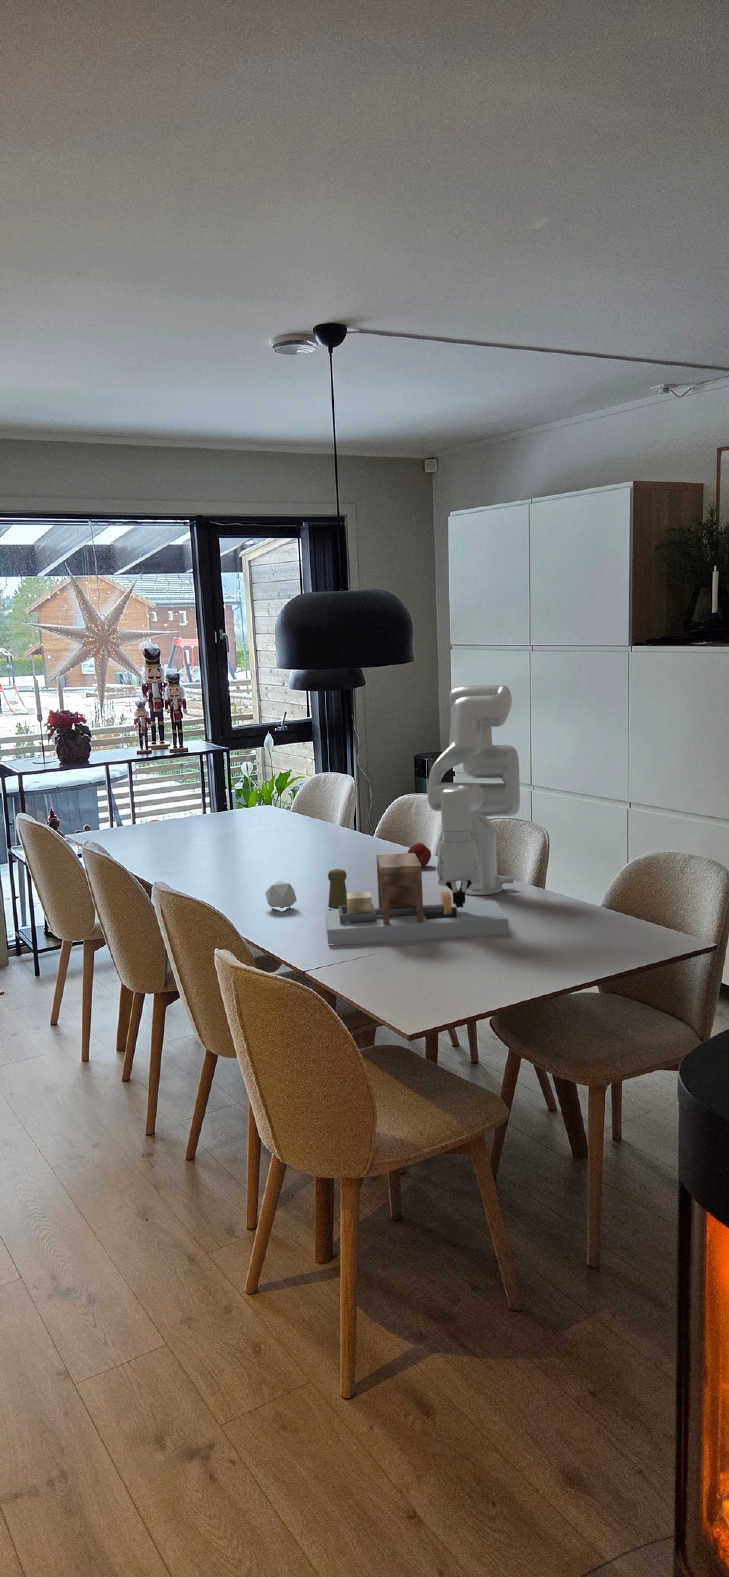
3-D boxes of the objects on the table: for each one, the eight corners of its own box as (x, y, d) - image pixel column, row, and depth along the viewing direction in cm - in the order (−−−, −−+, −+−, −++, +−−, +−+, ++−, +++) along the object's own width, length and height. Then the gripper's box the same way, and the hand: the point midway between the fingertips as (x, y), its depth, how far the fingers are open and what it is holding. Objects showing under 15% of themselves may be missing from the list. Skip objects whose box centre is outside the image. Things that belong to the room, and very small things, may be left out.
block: (370, 914, 268) (369, 891, 268) (372, 920, 263) (371, 897, 262) (347, 915, 268) (346, 892, 267) (348, 921, 262) (347, 898, 261)
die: (303, 911, 292) (299, 880, 296) (287, 903, 285) (283, 871, 289) (279, 920, 295) (274, 889, 299) (262, 912, 288) (258, 881, 292)
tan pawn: (325, 907, 293) (323, 868, 292) (345, 904, 295) (343, 866, 294) (332, 911, 288) (330, 873, 286) (352, 909, 290) (350, 870, 288)
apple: (430, 869, 333) (429, 845, 332) (406, 869, 334) (405, 845, 333) (432, 864, 340) (431, 840, 339) (408, 864, 342) (407, 840, 340)
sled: (447, 906, 271) (447, 889, 270) (452, 915, 262) (452, 898, 262) (338, 913, 269) (337, 896, 269) (340, 922, 261) (339, 905, 260)
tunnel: (416, 906, 274) (414, 852, 271) (423, 922, 259) (421, 865, 257) (378, 909, 273) (376, 855, 271) (383, 924, 258) (381, 867, 256)
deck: (494, 915, 277) (494, 900, 276) (508, 934, 259) (508, 918, 259) (326, 925, 274) (325, 910, 274) (328, 945, 257) (327, 929, 256)
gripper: (483, 831, 268) (485, 900, 271) (425, 835, 267) (428, 904, 270) (488, 837, 261) (490, 908, 263) (429, 840, 260) (432, 912, 262)
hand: (459, 906), depth 267 cm, fingers closed
